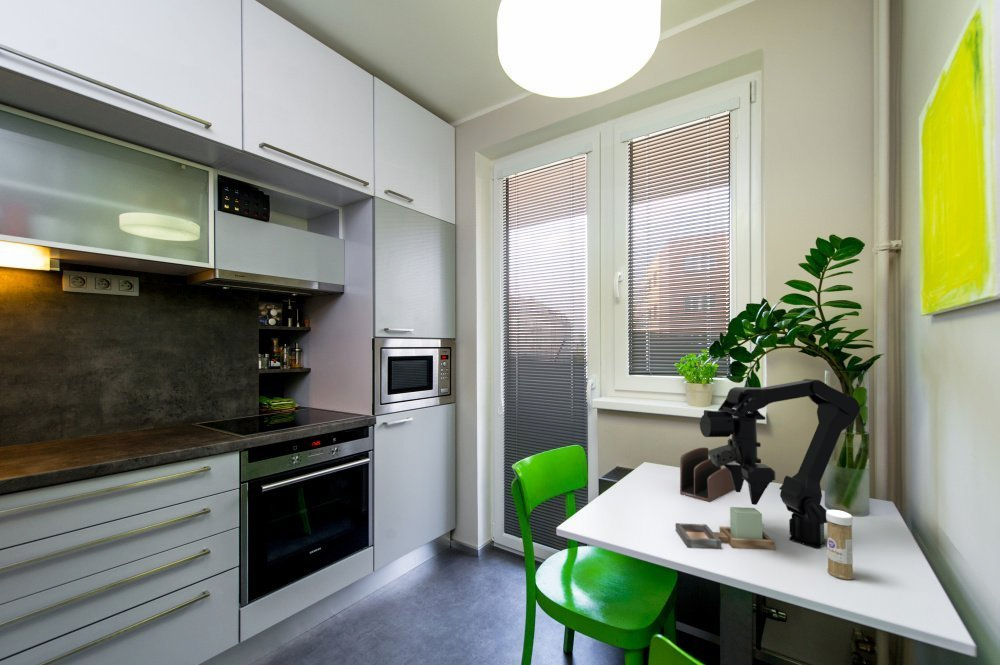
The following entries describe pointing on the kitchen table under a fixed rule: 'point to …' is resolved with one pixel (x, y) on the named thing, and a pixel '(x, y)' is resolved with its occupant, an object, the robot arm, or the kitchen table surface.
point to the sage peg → (745, 523)
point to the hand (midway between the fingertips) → (745, 498)
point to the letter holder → (703, 476)
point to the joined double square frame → (719, 538)
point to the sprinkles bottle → (839, 544)
